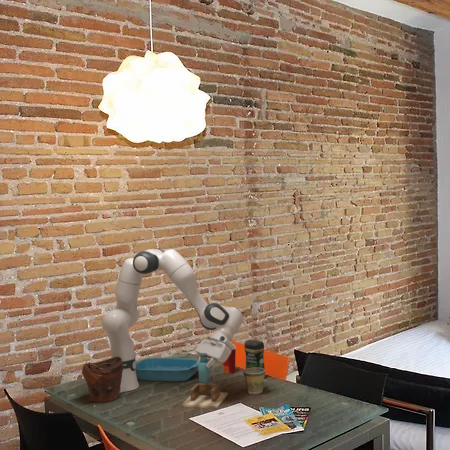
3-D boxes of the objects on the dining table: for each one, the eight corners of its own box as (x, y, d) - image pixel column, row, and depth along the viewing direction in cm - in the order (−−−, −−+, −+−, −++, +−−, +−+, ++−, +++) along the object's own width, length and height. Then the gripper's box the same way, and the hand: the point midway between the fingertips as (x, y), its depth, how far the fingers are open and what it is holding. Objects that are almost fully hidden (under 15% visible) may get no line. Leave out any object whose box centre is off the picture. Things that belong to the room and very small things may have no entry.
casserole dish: (123, 381, 309) (122, 367, 308) (142, 369, 330) (141, 356, 330) (192, 385, 298) (191, 370, 297) (207, 371, 319) (206, 358, 319)
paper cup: (237, 370, 319) (236, 343, 318) (236, 374, 311) (235, 347, 310) (222, 370, 319) (221, 343, 319) (221, 374, 312) (219, 347, 311)
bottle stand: (181, 406, 266) (181, 393, 266) (194, 393, 283) (193, 380, 283) (217, 408, 262) (216, 394, 262) (227, 394, 279) (227, 381, 279)
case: (74, 402, 278) (72, 363, 277) (102, 389, 296) (101, 352, 295) (105, 407, 270) (103, 367, 269) (132, 394, 287) (131, 356, 287)
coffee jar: (242, 378, 304) (241, 341, 303) (252, 374, 310) (250, 337, 310) (259, 381, 298) (257, 343, 297) (268, 376, 304) (266, 339, 304)
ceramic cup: (257, 396, 275) (256, 374, 274) (239, 393, 281) (238, 371, 280) (273, 388, 285) (272, 367, 285) (255, 385, 291) (254, 364, 291)
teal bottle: (197, 382, 270) (196, 355, 270) (201, 379, 275) (199, 352, 275) (208, 382, 269) (207, 355, 269) (211, 379, 274) (210, 352, 274)
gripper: (202, 332, 284) (185, 357, 279) (228, 339, 267) (211, 366, 262) (211, 340, 287) (194, 365, 281) (237, 347, 270) (220, 374, 265)
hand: (202, 365), depth 272 cm, fingers closed on teal bottle, 5 cm apart
